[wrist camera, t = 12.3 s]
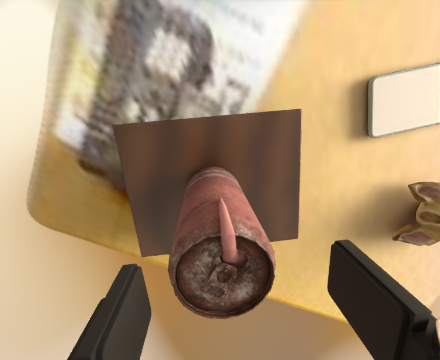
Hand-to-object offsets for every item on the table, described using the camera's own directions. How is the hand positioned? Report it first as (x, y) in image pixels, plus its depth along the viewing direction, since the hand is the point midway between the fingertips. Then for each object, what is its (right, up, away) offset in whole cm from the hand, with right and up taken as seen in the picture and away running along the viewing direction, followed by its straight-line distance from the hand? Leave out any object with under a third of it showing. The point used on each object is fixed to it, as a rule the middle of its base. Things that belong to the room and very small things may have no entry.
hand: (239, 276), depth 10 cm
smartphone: (+27, +16, +20) cm, 38 cm away
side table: (-2, +6, +21) cm, 22 cm away
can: (-2, +4, +14) cm, 15 cm away
